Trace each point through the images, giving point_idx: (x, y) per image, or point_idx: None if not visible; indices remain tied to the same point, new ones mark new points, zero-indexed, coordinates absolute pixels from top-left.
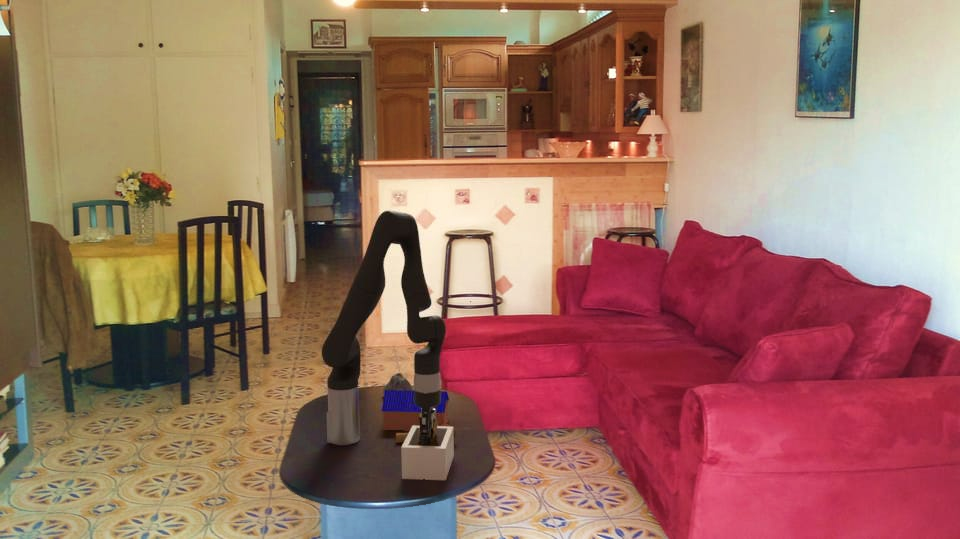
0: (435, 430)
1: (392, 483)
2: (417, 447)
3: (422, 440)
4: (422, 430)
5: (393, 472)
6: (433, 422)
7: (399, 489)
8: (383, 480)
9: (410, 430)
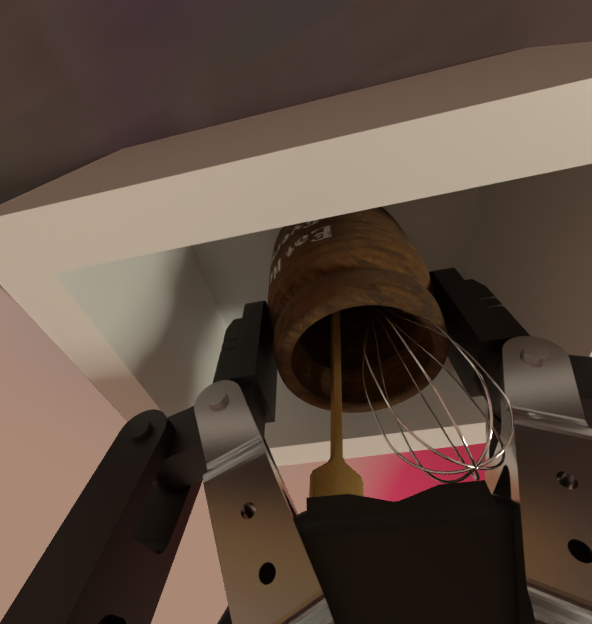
0: (340, 470)
1: (29, 113)
2: (80, 360)
3: (236, 353)
4: (209, 454)
5: (177, 29)
6: (486, 478)
7: (2, 193)
8: (15, 12)
9: (578, 91)
